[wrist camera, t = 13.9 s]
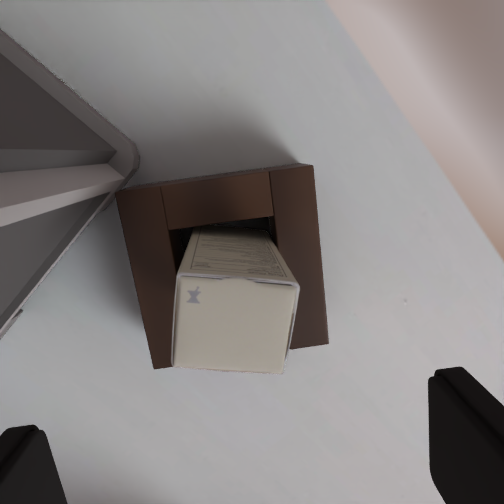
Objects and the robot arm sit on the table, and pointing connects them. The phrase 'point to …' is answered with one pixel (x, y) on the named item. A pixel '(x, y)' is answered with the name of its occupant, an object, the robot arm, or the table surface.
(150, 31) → the table surface
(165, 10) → the table surface
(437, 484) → the robot arm
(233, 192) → the square wooden holder
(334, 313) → the table surface
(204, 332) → the box
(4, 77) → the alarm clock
